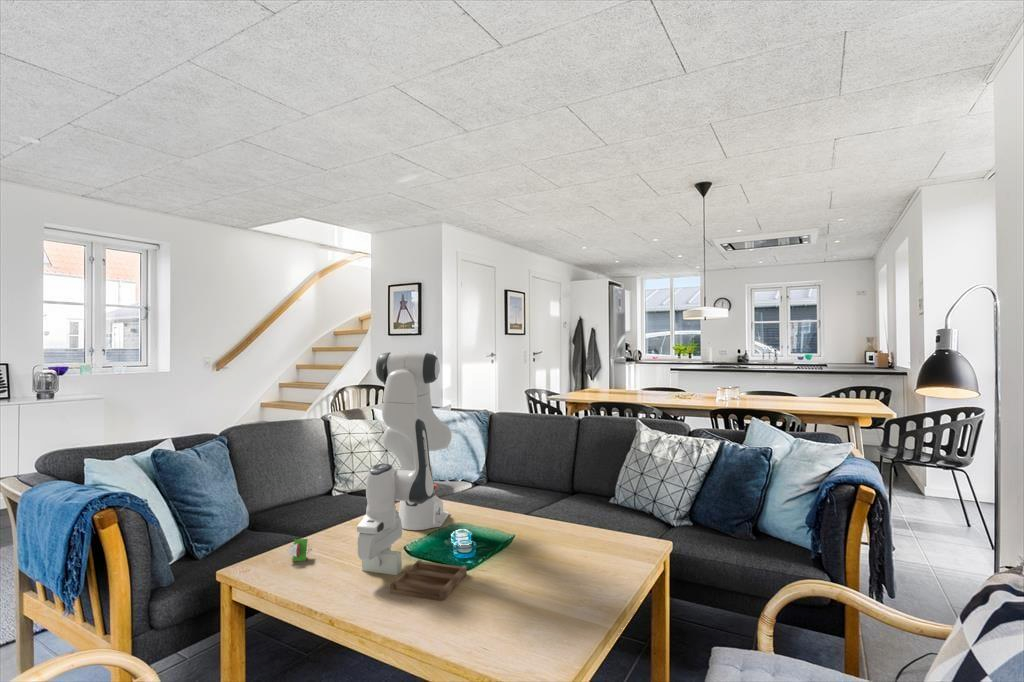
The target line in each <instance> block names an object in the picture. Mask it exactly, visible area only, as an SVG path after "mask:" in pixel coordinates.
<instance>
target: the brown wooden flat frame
mask: <svg viewBox="0 0 1024 682" xmlns="http://www.w3.org/2000/svg"><path fill="white" fill-rule="evenodd" d="M467 569H468V568H467V565H461V566H459V565H452V564H442V563H437V562H429V561H422V560H421V559H418V560H417V561H415V563H414V564H412V565H410V567H409V568H408V569H406V570H405V571H404V572H402V574H401V575H399V576H398V577H397V578H396V579H395V580H394V581H393V582H391V583H390V594H396V595H402V596H407V597H414V598H415V597H416V598H420V599H421V598H422V599H429V600H434V601H440V602H441V601H442V602H444V600H446V598H447V597H448V596H449V595H450V594H451V593H452V591H453V590H454V589H456V587H457V586H458V584H459V583H460V582H461V581H462V580H463V579H464V578H465V577H466V575H467Z"/></svg>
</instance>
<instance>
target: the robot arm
mask: <svg viewBox="0 0 1024 682" xmlns="http://www.w3.org/2000/svg"><path fill="white" fill-rule="evenodd" d="M440 370H441V365H440V361H439V358H438V356H436V354H434V353H433V354H432V353H428V352H426V353H423V352H417V351H416V352H415V351H407V352H406V351H405V352H392V353H391V352H384V353H381V354H380V355H379V356H378V357H377V360H376V363H375V374H376V377H377V379H378V380H379V381H380V382H381V383H383V384H384V388H383V389H384V391H383V394H382V404H381V405H382V409H381V416H382V419H383V422H384V424H385V425H386V428H385V429H384V431H383V436H382V441H383V444H384V447H385V448H386V449H387V450H388V451H390V452H391V453H392V454H393V455H394V456H395V457H396V458H397V459H398V461H399V463H400V465H401V469H397V468H394V467H393V465H392V464H390V463H378V464H374V465H371V467H369V469H368V472H367V475H366V483H365V497H366V500H367V505H366V509H365V511H366V512H365V514H364V516H363V518H362V519H361V521H360V522H359V523H357V524H358V525H357V526H356V531H357V533H359V534H358V536H357V556H358V558H359V560H361V561H362V560H366V561H370V560H371V559H373V560H374V566H375V567H380V566H381V565H382V560H380V558H379V556H380V553H381V552H382V551H383V550H392V545H393V544H394V543H396V542H398V540H400V539H401V538H402V535H403V529H404V530H408V531H423V530H429V529H433V528H440V527H442V526H443V525H444V523H445V521H446V520H447V518H448V517H449V515H450V512H449V511H447V510H445V509H444V502H443V500H442V499H441V498H439V497H438V496H437V495H436V490H438V488H439V487H438V484H436V483H434V478H433V474H434V473H433V472H434V471H433V466H432V465H431V460H430V452H436V451H441V450H445V449H447V448H448V447H449V446H450V444H451V442H452V438H453V437H452V434H453V433H452V430H451V428H450V426H449V425H448V424H447V423H445V422H443V421H442V420H441V419H440V418H439V417H438V416H437V415H436V413H435V411H434V410H433V409H434V408H433V406H432V400H431V385H430V383H431V384H432V383H434V382H436V380H437V379H438V378H439V374H440ZM395 501H398V502H399V510H397V509H396V508H397V506H396V502H395Z"/></svg>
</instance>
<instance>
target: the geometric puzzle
mask: <svg viewBox="0 0 1024 682" xmlns="http://www.w3.org/2000/svg"><path fill="white" fill-rule="evenodd" d="M308 541H309V540H308V538H301V539H300V538H299V539H293V542H292V545H290V547H289V548H288V550H287V553H288V554H289V555H290V556H292V558H291V560H292V562H304V561H305V562H306V561H307V558H308V557H309V552H310V553H311V551H312V550H313V548H311V547H310V546H309V545H311V543H310V542H308ZM307 547H308V548H307Z"/></svg>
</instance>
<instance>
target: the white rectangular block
mask: <svg viewBox="0 0 1024 682" xmlns="http://www.w3.org/2000/svg"><path fill="white" fill-rule="evenodd" d="M402 554H403V553H402V551H398V550H392V549H391V550H383V551H382V552H381V553H380V556H379V558H380V560H382V565H381V566H380V567H375V566H374V560H373V559H371V560H370V561H366V560H361V571H363V572H369V573H378V574H386V575H392V576H398V575H399V574H400V573H401V572H402V571H403V570H402V568H403V565H402V560H403V558H402Z"/></svg>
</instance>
